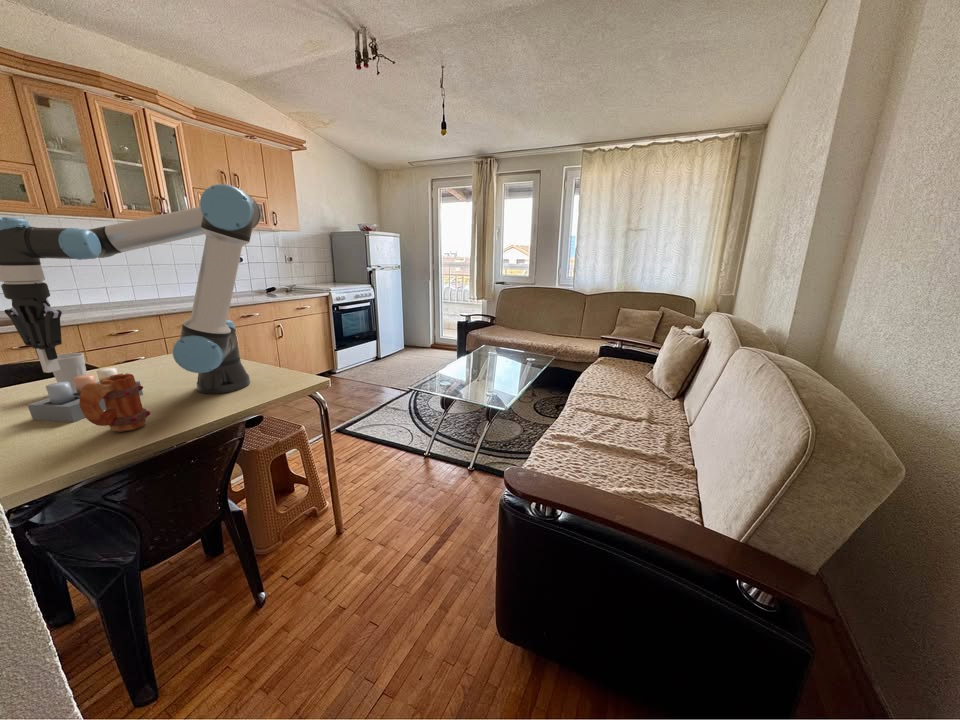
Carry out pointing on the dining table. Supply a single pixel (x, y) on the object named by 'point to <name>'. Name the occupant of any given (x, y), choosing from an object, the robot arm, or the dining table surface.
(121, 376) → the mug
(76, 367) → the cup
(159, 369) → the dining table surface
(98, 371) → the button ivory
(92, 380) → the button terracotta
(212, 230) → the robot arm
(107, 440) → the dining table surface
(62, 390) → the button slate
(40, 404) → the grey tray
